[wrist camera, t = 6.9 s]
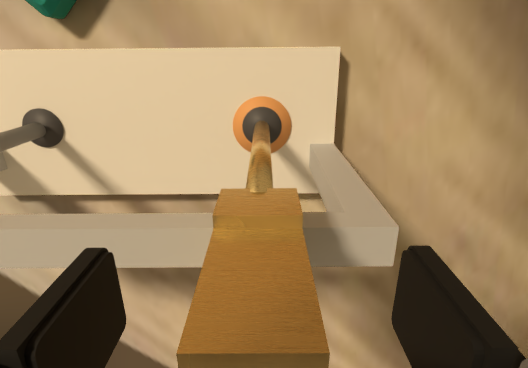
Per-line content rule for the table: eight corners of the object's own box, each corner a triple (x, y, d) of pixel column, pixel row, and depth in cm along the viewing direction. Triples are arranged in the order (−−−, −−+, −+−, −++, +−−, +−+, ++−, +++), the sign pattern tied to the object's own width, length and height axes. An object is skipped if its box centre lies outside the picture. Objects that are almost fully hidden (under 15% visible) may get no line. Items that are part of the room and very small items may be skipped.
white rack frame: (-38, 50, 27) (-467, 43, 11) (336, 47, 26) (439, 35, 11) (5, 189, 31) (-258, 324, 15) (327, 186, 31) (391, 321, 15)
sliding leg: (242, 120, 26) (173, 329, 6) (280, 120, 26) (331, 329, 6) (244, 169, 28) (191, 465, 8) (280, 169, 28) (320, 464, 8)
